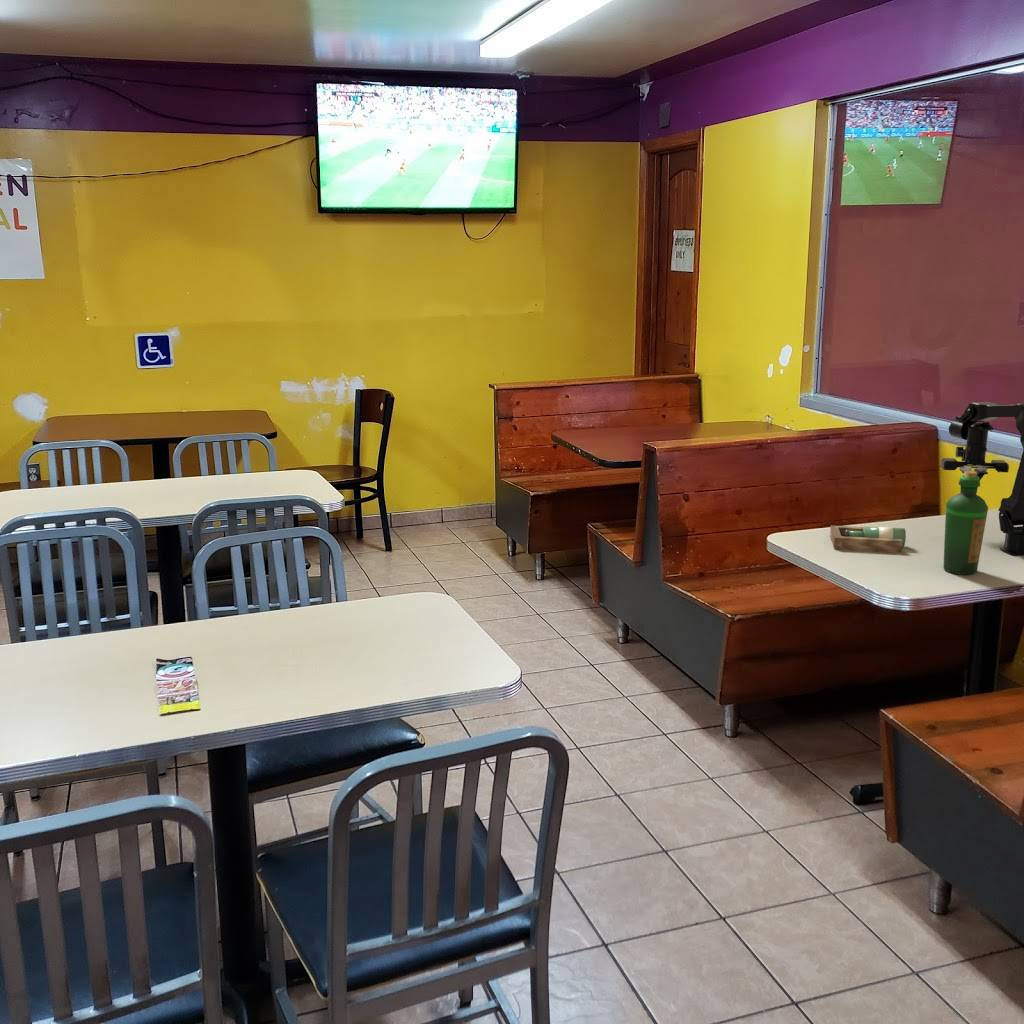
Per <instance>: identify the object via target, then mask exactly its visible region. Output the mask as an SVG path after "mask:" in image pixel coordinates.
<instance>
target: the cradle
mask: <svg viewBox="0 0 1024 1024" xmlns="http://www.w3.org/2000/svg"><path fill="white" fill-rule="evenodd" d="M863 527H864V526H848V525H847V526H846V525H830V528H829V529H830V533H829V538H830V541H831V545H832V547H833V549H834V550H848V551H849V550H850V551H864V552H868V551H869V552H880V553H881V552H883V553H898V554H899V553H902V549H903V546H902V540H901V539H885V538H865V537H846V536H845V530H849V531H863Z"/></svg>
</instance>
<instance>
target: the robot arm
mask: <svg viewBox="0 0 1024 1024" xmlns="http://www.w3.org/2000/svg"><path fill="white" fill-rule="evenodd" d="M998 418H1014V419H1015V427H1016V429H1017V430H1018V432H1019V433H1020V438H1019V442H1020V443H1021V447H1022V449H1023V450H1022V454H1021V457H1020V461H1019V466H1018V468H1017V473H1016V476H1015V478H1014V479H1015V480H1014V482H1013V487H1012V491H1011V493H1010V495H1009V497H1003V498H1002V499H1001V501H1000V506H999V508H998V510H997V511H998V520H999V521H998V522H999V528H1000V529H999V530H1000V531H1001V532H1002V533H1003V534H1005V537H1004V538H1005V539H1004V545H1003V546H1002V547H999V550H1001V551H1002V552H1005V553H1007V554H1009V555H1011V556H1021V555H1023V556H1024V403H1016V404H997V403H995V402H991V401H981V402H980V401H979V402H978V401H977V402H970V403H969V404H968V406H967V407H966V409H965V410H964V412H963V413H962V414H961V415H956V416H955V418H954V420H953V421H952V422H951V423H950V424H949V426H948V432H949V435H950V436H951V437H953V438H956V439H961V440H963V441H964V440H965V441H966V443H965V447H963V446H956V447H955V458H953V457H952V458H951V457H949V458H948V457H943V458H941V459H940V463H939V467H940V468H941V469H942V470H944V471H956V470H957V469H958V468H959V472H961V473H962V474H964V471H972V469H973V471H975V472H977V475H976V476H978V477H979V478H980V481H981V480H982V479H983V478H984V476H985V475H988V474H989V472H988V469H991V470H992V469H993V470H995V471H996V472H997V473H1009V469H1010V464H1008V462H1007V461H1005V460H1004V459H991V461H990V462H987V461H986V457H987V454H986V453H987V450H988V447H987V445H988V436H989V431H994V427H993V425H991V424H990V421H992V420H996V419H998ZM956 458H961V461H958V460H957V459H956Z"/></svg>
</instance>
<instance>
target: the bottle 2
mask: <svg viewBox="0 0 1024 1024" xmlns="http://www.w3.org/2000/svg"><path fill="white" fill-rule="evenodd" d="M976 475H977V472H975V471H974V470H971V471H964V473H963V475H960V478H959V480H958V486H960V488H959V490H960V493H957V494H955V495H953V496H952V497H950V498H949V499H948V500H947V501H946V503H945V519H944V521H945V522H944V543H943V544H944V546H943V569H944V570H945V571H947V572H949V573H951V574H954V575H964V576H966V575H967V576H968V575H973V574H975V573H976V572H978V569H979V568H978V567H979V562H980V555H981V550H982V545H983V540H984V535H985V529H986V528H985V527H986V522H987V517H988V511H989V506H988V503H986V501H985V499H984V498H983V497H981V496H980V495H978V494H977V493H978V488H979V487H981V480H980V478H979V477H978V476H976Z"/></svg>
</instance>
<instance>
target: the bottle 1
mask: <svg viewBox="0 0 1024 1024" xmlns="http://www.w3.org/2000/svg"><path fill="white" fill-rule="evenodd" d="M862 527H863V531H849V530H845V536H846V537H865V538H885V539H901V540H902V547H904V546H905V544H906V539H907V538H906V537H907V535H906V531H907V530H906V529H905V528H904V527H891V526H890V527H886V526H865V525H864V526H862Z"/></svg>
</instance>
